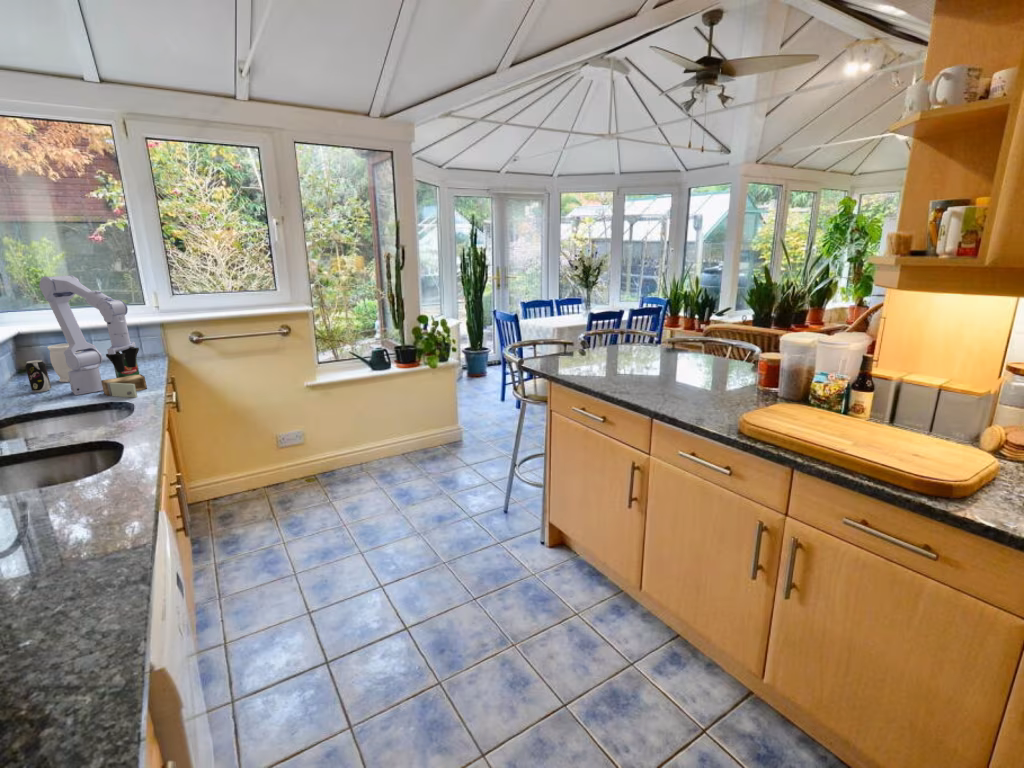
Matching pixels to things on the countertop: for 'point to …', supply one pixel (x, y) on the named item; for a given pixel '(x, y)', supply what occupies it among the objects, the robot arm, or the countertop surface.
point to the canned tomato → (127, 370)
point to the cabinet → (126, 382)
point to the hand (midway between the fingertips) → (126, 369)
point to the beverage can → (38, 376)
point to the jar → (60, 361)
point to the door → (122, 390)
